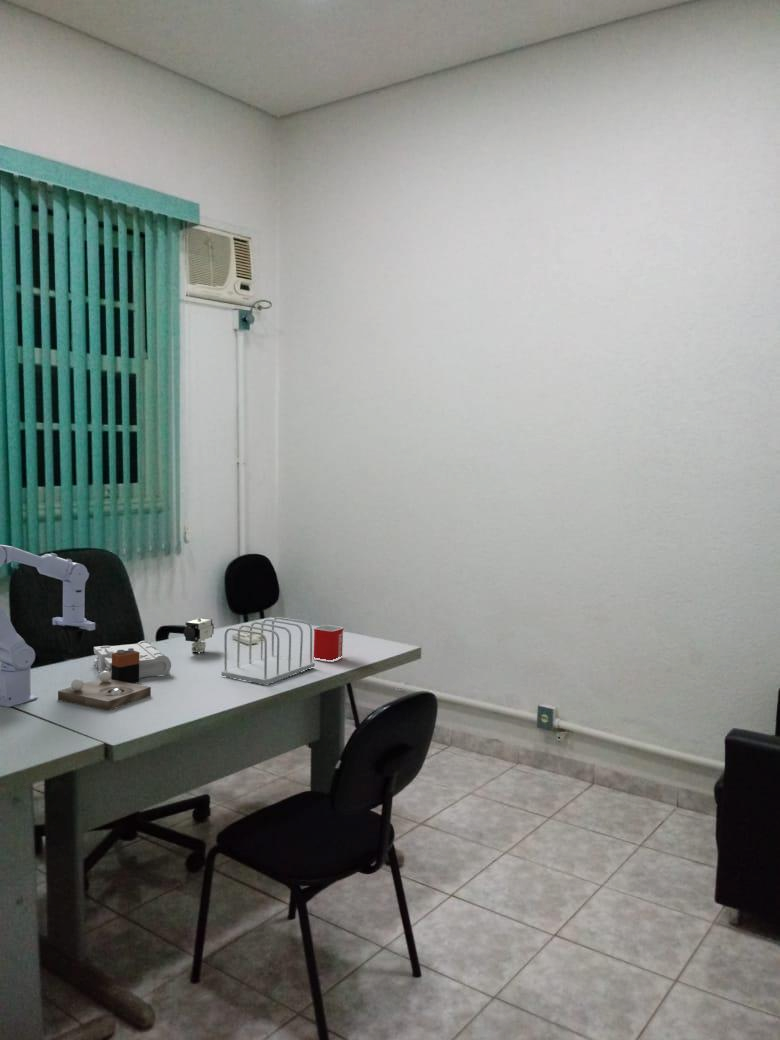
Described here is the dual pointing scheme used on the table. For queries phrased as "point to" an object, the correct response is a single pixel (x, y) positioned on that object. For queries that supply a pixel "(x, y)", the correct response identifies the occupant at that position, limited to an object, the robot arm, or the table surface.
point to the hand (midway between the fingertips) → (73, 652)
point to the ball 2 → (105, 676)
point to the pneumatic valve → (198, 633)
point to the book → (148, 659)
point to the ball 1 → (77, 684)
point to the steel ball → (116, 691)
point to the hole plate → (105, 694)
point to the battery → (125, 666)
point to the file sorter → (272, 665)
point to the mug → (328, 642)
